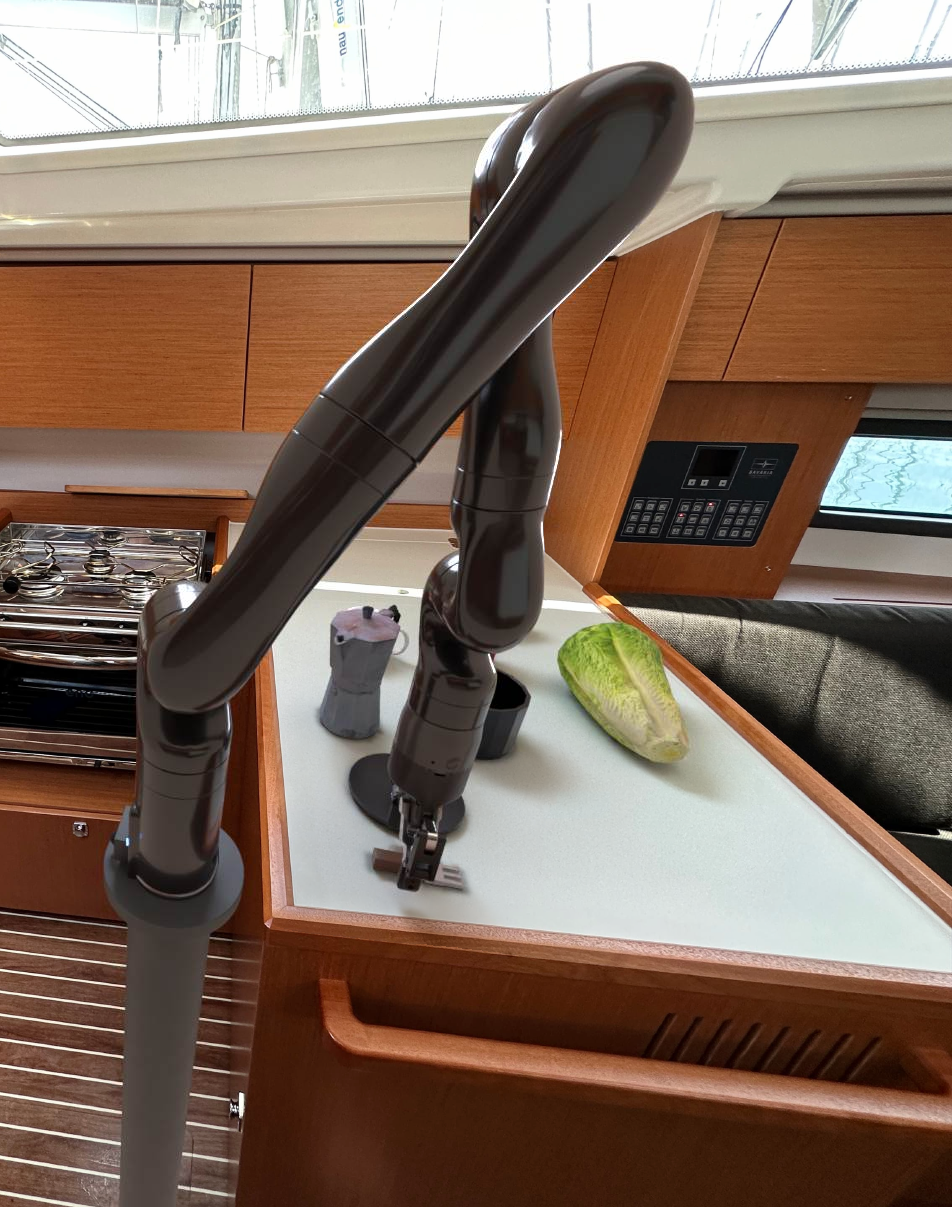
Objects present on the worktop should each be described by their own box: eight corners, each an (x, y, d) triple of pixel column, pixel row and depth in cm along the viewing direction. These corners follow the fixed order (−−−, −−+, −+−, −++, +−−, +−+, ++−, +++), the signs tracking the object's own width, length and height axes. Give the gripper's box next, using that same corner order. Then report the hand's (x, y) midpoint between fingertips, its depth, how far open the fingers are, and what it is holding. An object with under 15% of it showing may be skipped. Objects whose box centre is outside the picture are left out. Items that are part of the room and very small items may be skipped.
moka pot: (292, 724, 92) (313, 607, 83) (347, 687, 102) (371, 578, 93) (348, 757, 86) (377, 635, 77) (401, 714, 96) (433, 600, 86)
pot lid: (351, 826, 75) (359, 792, 72) (344, 751, 87) (351, 719, 85) (474, 850, 72) (488, 815, 70) (450, 769, 85) (460, 737, 82)
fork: (373, 872, 69) (375, 862, 68) (370, 852, 71) (373, 843, 71) (462, 890, 67) (466, 880, 67) (457, 870, 70) (461, 860, 69)
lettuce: (702, 793, 86) (586, 781, 89) (631, 677, 105) (538, 670, 109) (750, 723, 78) (620, 712, 81) (664, 611, 97) (562, 606, 100)
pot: (424, 750, 88) (439, 702, 84) (410, 698, 99) (423, 654, 96) (524, 767, 86) (544, 718, 82) (498, 711, 97) (514, 666, 93)
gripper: (387, 698, 69) (360, 804, 76) (405, 787, 56) (372, 903, 64) (458, 708, 67) (424, 815, 75) (493, 801, 55) (449, 919, 62)
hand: (400, 856), depth 69 cm, fingers open, 8 cm apart
